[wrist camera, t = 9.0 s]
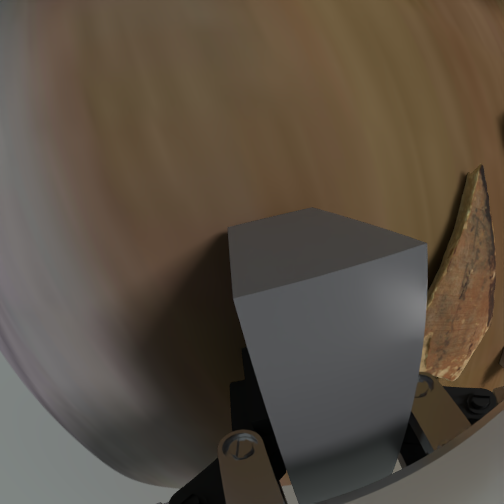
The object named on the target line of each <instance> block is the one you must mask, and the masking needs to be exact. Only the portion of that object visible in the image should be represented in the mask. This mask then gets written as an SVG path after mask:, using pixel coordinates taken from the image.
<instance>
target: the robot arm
mask: <svg viewBox="0 0 504 504" xmlns="http://www.w3.org/2000/svg"><path fill="white" fill-rule="evenodd" d="M242 358H243V366H244V374H245V380H242V381H237V382H232V383H230V401H231V418H232V432H231V433H229V434H227V435H226V436H224V437H223V438H222V439H221V440H220V442H219V444H218V449H217V452H218V458H217V459H216V460H215V461H214V462H212V463H211V464H210V465H209V466H208V467H207V468H206V469H204V470H203V471H202V472H201V473H200V474H198V475H197V476H196V477H195V478H194V479H192V480H191V481H190V482H189V483H187V484H186V485H185V486H184V487H182V488H181V489H180V490H179V491H177V492H176V493H175V494H174V495H173V496H172V497H171V499H170V501H169V502H167V503H164V504H288V503H287V500H286V498H285V495H284V492H283V489H282V486H281V484H280V481H279V480H280V479H281V478H282V477H283V475H284V474H285V473H286V470H287V469H286V467H285V464H284V461H283V458H282V455H281V452H280V449H279V446H278V443H277V440H276V437H275V434H274V431H273V428H272V425H271V422H270V419H269V416H268V413H267V410H266V407H265V403H264V400H263V397H262V394H261V391H260V388H259V384H258V381H257V378H256V375H255V371H254V368H253V365H252V362H251V358H250V355H249V352H248V348H247V347H245V348H242ZM398 460H399V462H400V465H401V467H402V469H401V470H399V471H397V472H395V473H393V474H391V475H389V476H387V477H385V478H382V479H380V480H378V481H376V482H373V483H371V484H369V485H366V486H364V487H361V488H359V489H356V490H353V491H351V492H348V493H345V494H342V495H339V496H336V497H333V498H330V499H327V500H323V501H320V502H317V503H313V504H504V386H502V387H499V388H495V389H493V392H491V391H489V390H487V389H482V388H461V387H446V386H442V385H441V384H440V383H439V381H438V380H437V379H436V378H435V377H434V376H433V375H432V374H430V373H427V372H419V376H418V381H417V386H416V391H415V396H414V401H413V405H412V410H411V414H410V418H409V422H408V425H407V429H406V433H405V436H404V439H403V443H402V446H401V449H400V452H399V455H398ZM157 504H162V503H161V502H160V503H157Z"/></svg>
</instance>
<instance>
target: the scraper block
mask: <svg viewBox="0 0 504 504" xmlns="http://www.w3.org/2000/svg"><path fill="white" fill-rule="evenodd" d="M228 240H229V254H230V267H231V279H232V291H233V300H234V304H235V307H236V311H237V314H238V318H239V321H240V324H241V328H242V331H243V335H244V338H245V342H246V345H247V348H248V352H249V355H250V358H251V362H252V365H253V368H254V371H255V375H256V378H257V381H258V384H259V388H260V391H261V394H262V397H263V400H264V403H265V407H266V410H267V413H268V416H269V419H270V422H271V425H272V428H273V431H274V434H275V437H276V440H277V443H278V446H279V449H280V452H281V455H282V458H283V461H284V464H285V467H286V469H287V472H288V475H289V478H290V481H291V484H292V486H293V489H294V492H295V495H296V497H297V500H298V503H299V504H313V503H317V502H320V501H323V500H327V499H330V498H333V497H336V496H339V495H342V494H345V493H348V492H351V491H353V490H356V489H359V488H361V487H364V486H366V485H369V484H371V483H373V482H376V481H378V480H380V479H382V478H385V477H387V476H389V475H391V474H392V472H393V469H394V467H395V464H396V461H397V458H398V455H399V452H400V449H401V446H402V443H403V439H404V436H405V433H406V429H407V425H408V422H409V418H410V414H411V410H412V405H413V401H414V396H415V391H416V386H417V381H418V376H419V370H420V363H421V357H422V349H423V341H424V332H425V321H426V306H427V277H428V263H427V243H425V242H422V241H419V240H416V239H413V238H411V237H408V236H405V235H402V234H399V233H396V232H393V231H390V230H386V229H383V228H380V227H377V226H374V225H371V224H367V223H364V222H361V221H358V220H354V219H351V218H348V217H344V216H341V215H337V214H334V213H330V212H327V211H323V210H320V209H316V208H308V209H303V210H299V211H294V212H290V213H286V214H281V215H277V216H273V217H269V218H264V219H260V220H256V221H252V222H248V223H244V224H240V225H236V226H232V227H228Z"/></svg>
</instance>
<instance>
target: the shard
mask: <svg viewBox="0 0 504 504" xmlns="http://www.w3.org/2000/svg"><path fill="white" fill-rule="evenodd" d="M495 284H496V255H495V240H494V230H493V223H492V216H491V213H490V206H489V196H488V193H487V183H486V179H485V175H484V168H483V165H482V164H480V165H479V166H478V168H477V169H476V170H475V171H474V172H473V173H470V172H468V175H467V180H466V184H465V188H464V192H463V195H462V199H461V204H460V208H459V212H458V216H457V219H456V223H455V227H454V230H453V233H452V236H451V238H450V241H449V243H448V246H447V249H446V251H445V253H444V256H443V259H442V262H441V266H440V268H439V270H438V272H437V274H436V276H435V278H434V280H433V283H432V284H431V286H430V288H429V290H428V291H427V306H426V321H425V332H424V341H423V349H422V357H421V363H420V370H419V372H427V373H430V374H432V375H433V376H435V377H440V378H446V379H447V380H449V381H454V380H455V379H457V377H458V376H459V375H460V373H461V372H462V370H463V369H464V367H465V366H466V364H467V362H468V361H469V359H470V357H471V355H472V354H473V352H474V351H475V349H476V347H477V346H478V344H479V343H480V341H481V339H482V337H483V336H484V334H485V332H486V331H487V329H488V328H489V327H490V326H491V323H492V317H493V309H494V301H495V298H494V290H495Z"/></svg>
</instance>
